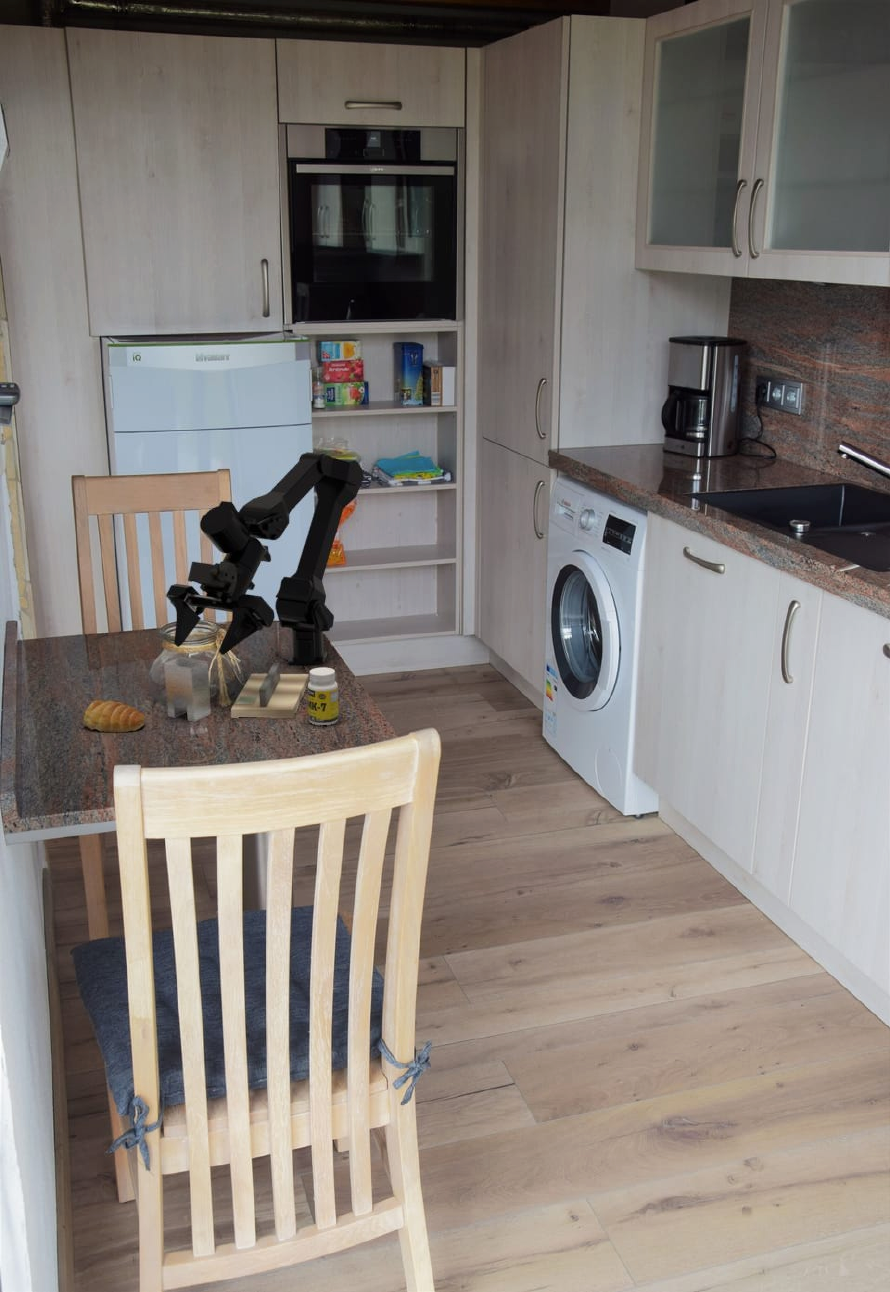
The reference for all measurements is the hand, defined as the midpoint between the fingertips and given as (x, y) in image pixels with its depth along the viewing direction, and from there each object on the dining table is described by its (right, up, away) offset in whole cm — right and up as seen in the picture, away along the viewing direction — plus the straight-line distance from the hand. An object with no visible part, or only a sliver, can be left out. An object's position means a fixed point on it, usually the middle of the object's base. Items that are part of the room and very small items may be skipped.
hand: (198, 649), depth 191 cm
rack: (+11, -8, +8) cm, 16 cm away
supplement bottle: (+20, -12, -2) cm, 24 cm away
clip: (-2, -11, 0) cm, 11 cm away
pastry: (-13, -12, -4) cm, 18 cm away
